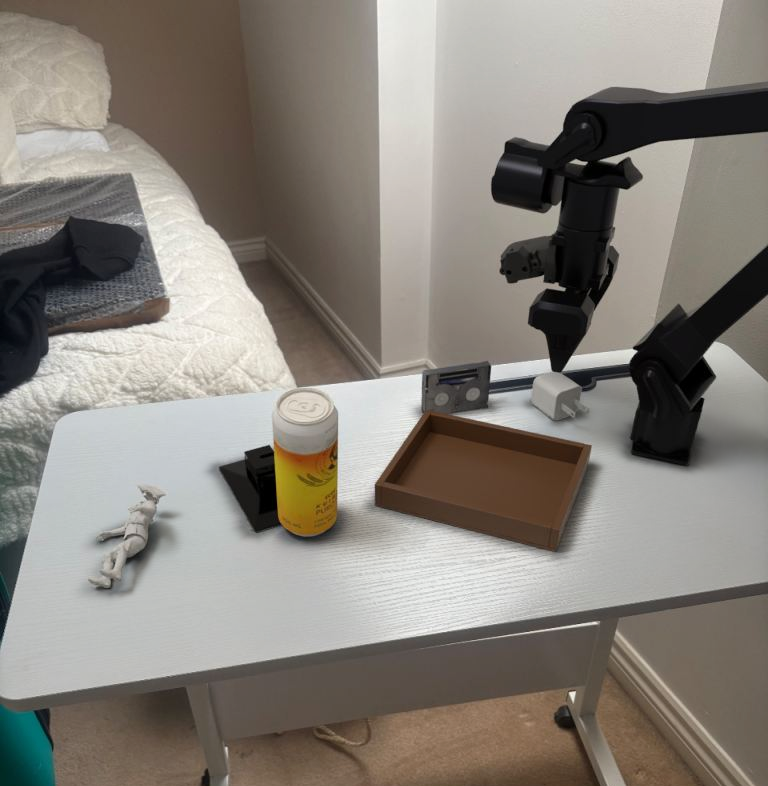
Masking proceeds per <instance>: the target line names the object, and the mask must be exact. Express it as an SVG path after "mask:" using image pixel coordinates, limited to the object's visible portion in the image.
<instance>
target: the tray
mask: <svg viewBox="0 0 768 786" xmlns="http://www.w3.org/2000/svg"><path fill="white" fill-rule="evenodd" d="M592 448H593V444H588V443H584V442H580V441H574V440H570V439H566V438H561V437H557V436H551V435H546V434H542V433H537V432H532V431H528V430H524V429H518V428H514V427H509V426H504V425H500V424H495V423H490V422H486V421H481V420H477V419H472V418H467V417H463V416H458V415H454V414H444V413H440V412H435V411H430V410H426V411H425V412H424V414H423V413H422V415H421V416H420V417H419V419H418V421H417V422H416V424H415V425H414V427H413V428H412V429H411V430H410V432H409V434H408V435H407V437H406V438H405V440H404V441H403V442H402V444H401V445H400V447H399V448H398V450H397V451H396V453H395V454H394V456H393V457H392V459H391V460H390V461H389V463H388V464H387V466H386V467H385V469H384V470H383V471H382V472H381V474H380V476H379V477H378V479H377V480H376V482H375V483H374V506H375V507H379V508H383V509H387V510H391V511H394V512H399V513H402V514H406V515H410V516H413V517H414V516H415V517H417V518H422V519H425V520H429V521H434V522H437V523H441V524H446V525H450V526H453V527H457V528H460V529H464V530H468V531H473V532H476V533H481V534H484V535H488V536H493V537H496V538H500V539H502V540H503V539H504V540H507V541H511V542H516V543H520V544H523V545H528V546H532V547H534V548H535V547H536V548H539V549H543V550H547V551H551V552H555V553H556V552H557V549H558V547H559V545H560V542H561V540H562V537H563V534H564V531H565V529H566V526H567V523H568V521H569V518H570V515H571V512H572V510H573V508H574V505H575V503H576V500H577V497H578V495H579V491H580V489H581V487H582V484H583V481H584V478H585V476H586V473H587V470H588V468H589V464H590V459H591V454H592Z"/></svg>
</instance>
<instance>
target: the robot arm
mask: <svg viewBox="0 0 768 786" xmlns="http://www.w3.org/2000/svg"><path fill="white" fill-rule="evenodd" d="M760 133H768V80H767V81H759V82H751V83H744V84H743V83H742V84H737V85H729V86H720V87H711V88H704V89H696V90H695V89H694V90H688V91H679V92H659V91H655V90H652V89H646V88H640V87H626V86H625V87H624V86H610V87H607V88H604V89H603V88H602V89H601V90H599V91H597V92H595V93H593V94H591V95H589V96H586V97H584V98H582V99H580V100H578V101H577V102H575V103H573V104H572V105H571V107H570V109H569V110H568V111H567V113H566V114H565V117H564V120H563V123H562V131H561V132H560V133H559V135H557V136H556V138H555V139H554V140H553V141H552V143H551V144H550V145H549V144H543V143H538V142H532V141H530V140H528V139H526V138H522V137H516V136H514V137H511V138H510V139H508V140H505V142H504V145H503V146H504V147H503V153H502V154H501V156H500V158H499V160H498V161H497V164H496V166H495V169H494V173H493V175H492V177H491V179H490V181H491V182H490V193H491V197H492V200H493V202H494V203H496V204H499V205H503V206H508V207H512V208H516V209H520V210H525V211H528V212H529V211H530V212H534V213H538V214H547V212H549V211H550V210H551V209H552V207H557V206H558V205H560V207H559V215H558V221H557V222H558V223H557V226H556V230H555V231H554V233H551V235H542V236H537V237H532V238H529V239H523V240H518V241H515V242H512V243H510V244H509V245H508V246H507V247H506V248H505V249H504V250H503V252H502V253H501V254H500V259H499V261H500V268H499V269H498V270H499V274H500V275H501V276H504V277H505V279H506V283H507V284H511V285H512V284H517V283H518V282H519V281H524V280H529V279H534V278H535V279H536V278H540V277H543V279H542V281H543V282H542V283H543V284H550V285H555V284H558V287H560V288H563V289H564V290H560V289H555V288H554V289H553V288H549V287H546V288H545V289H543V290H542V291H540V292H539V293H538V294H537V295H536V296H535V298H534V300H533V301H532V303H531V304H530V306H529V308H528V318H527V324H528V326H530V327H531V328H533V329H535V330H537V331H541V332H542V333H543V334H544V336H545V340H546V345H547V351H548V357H549V362H550V369H551V370H550V371H551V372H552V371H553V372H557V373H561V374H562V373H563V371H564V369H565V367H566V366H567V364H568V362H569V361H570V359H571V358H572V357H573V355H574V353H575V352H576V351H577V349H578V347H579V346H580V344H581V342H582V341H583V339H584V338H585V336H586V335H587V334H588V331H589V329H590V327H591V325H592V320H593V316H594V313H595V311H596V309H597V307H598V306H599V304H600V302H601V300H602V299H603V297H604V296H605V294H606V293H607V291H608V290H609V288H610V286H611V283H612V281H613V279H614V276H615V274H616V272H617V270H618V264H619V259H620V253H619V252H618V251H617V249H616V248H615V246H614V245H611V243H612V241H613V239H614V237H615V232H616V227H615V226H614V225H615V223H614V222H615V219H616V218H615V217H616V213H617V206H618V201H619V194H620V190H626V191H628V190H630V189H631V188H632V187H634V186H636V185H637V184H638V183H640V182H642V181H643V179H644V175H643V173H642V172H641V171H640V169H638V167H636V166H635V164H634V162H633V161H632V158H631V157H630V156H626V157H625V158H623V159H621V160H620V161H619V162H618V163H617V162H616V163H615V162H610V161H605V160H606V159H609V158H614V157H616V156H620V155H623V154H627V153H630V152H632V151H635V150H638V149H641V148H643V147H646V146H650V145H653V144H656V143H662V142H672V141H682V140H683V141H684V140H693V139H705V138H715V137H716V138H717V137H728V136H737V135H739V136H740V135H748V134H760ZM575 160H577V161H579V162H584V163H585V164H580V163H579V164H578V163H574V161H575ZM767 297H768V243H766V244H765V245H764V246H763V247H762V248H761V249H760V250H758V252H756V254H755V255H753V256H752V257H751V258H750V259H749V260H748V261H747V262H746V263H744V265H742V266H741V268H739V269H738V270H737V271H736V272H735V273H734V274H733V275H732V276H731V277H729V279H727V280H726V281H725V282H723V284H722V285H721V286H720V287H718V289H716V290H715V291H714V292H713V293H712V294H711V295H710V296H709V297H707V298H706V300H704V301H703V302H702V303H701V304H699V305H698V306H696V307H695V308H692V309H691V310H689V311H687V312H686V311H685V309H684V308H683V307H682V305H681V303H677V304H676V305H675V306H674V307H673V308H672V309H670V311H669V312H668V313H667V314H666V315H665V316H664V317H663V318H662V319H661V320H660V321H659V322H658V323H657V322H656V323H655V324H654V325H653V326H652V327H651V328H650V329H649V330H648V331H647V332H646V333H645V334H644V335H643V336H642V337H641V338H640V339H639V340H638V341H637V342H636V343H635V344H634V345H633V346H632V350H633V351H635V353H634V354H633V356H632V357H631V358H630V360H629V363H628V367H629V375H630V378H631V381H632V382H633V383H634V385H635V387H636V392H637V398H638V403H637V406H636V408H635V412H634V413H635V414H634V418H633V423H632V427H631V432H630V436H629V440H630V441H632V445H631V448H630V453H631V454H632V455H636V456H639V457H646V458H649V459H655V460H658V461H659V460H660V461H664V462H669V463H673V464H678V465H683V466H688V465H689V464H690V461H691V458H692V452H693V449H694V448H693V447H694V444H695V440H696V434H697V431H698V427H699V423H700V420H701V416H702V413H703V409H704V404H705V397H703V396H704V394H705V393H706V392H707V391H708V389H709V388H710V387H711V386H712V384H713V383H714V382H715V381H716V380H717V375H716V373H715V372H714V370H713V369H712V367H711V366H710V364H709V363H708V361H707V360H706V358H705V357H704V356H705V354H706V353H707V352H708V350H709V349H710V348H711V347H712V345H713V344H714V343H715V342H716V341H717V339H718V338H720V337H721V336H722V335H723V334H724V333H726V332H727V331H728V330H729V329H730V328H731V327H733V326H734V325H735V324H736V323H737V322H738V321H739V320H741V319H742V318H743V317H744V316H745V315H747V314H748V313H749V312H750V311H751V310H752V309H754V307H756V306H757V305H758V304H760V303H761V302H762V301H763V300H764V299H765V298H767Z"/></svg>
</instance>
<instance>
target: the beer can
mask: <svg viewBox="0 0 768 786" xmlns="http://www.w3.org/2000/svg"><path fill="white" fill-rule="evenodd" d="M335 405H336V404H335V403H334V400H333V398H332V397H331V396H330V395H329V394H328V393H326V391H323V390H320V389H317V388H315V387H314V388H313V387H296V388H293V389H289V390H287V391H285V392H284V393H282V394H281V395H280V396H278V398H277V400H276V402H275V406H274V407H273V410H272V412H271V422H272V423H271V424H272V439H273V451H274V457H275V473H276V489H277V505H278V518H279V521H280V523H281V524H282V525H281V526H282V527H283V528H285V530H288V531H289V532H290V533H292V534H294V535H296V536H300V537H304V538H305V537H315V536H319V535H321V534H324V533H325V532H326V531H327V530H329V529H330V528H332V526H333V525H334V524H335V522H336V520H337V518H338V484H339V483H338V482H339V481H338V480H339V479H338V474H339V472H338V469H339V467H338V466H339V411H338V408H337V407H336V406H335Z"/></svg>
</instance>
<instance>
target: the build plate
mask: <svg viewBox="0 0 768 786" xmlns="http://www.w3.org/2000/svg"><path fill="white" fill-rule="evenodd" d="M243 453H244V459H241V460H238V461H237V460H236V461H234V462H230V463H227V464H224V465H219V466H218V470H219V472H220V474H221V476H222V478H223V479H224V481H225V483H226V485H227V486H228V488H229V490H230V492H231V493H232V495H233V497H234V499H235V500H236V502H237V504H238V505H239V507H240V509H241V511H242V513H243V514H244V517H245V523H246V525H247V527H248V528H249V530H250V531H252V532H254V533H255V534H257V533H260V532H264V531H266V530H270V529H273V528H276V527H280V526H283V525H282V524H281V523H280V521H279V518H278V505H277V489H276V473H275V457H274V448H273V447H272V445H270V444H267V445H263V446H260V447H256V448H253V449H249V450H245V451H244V452H243Z"/></svg>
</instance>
